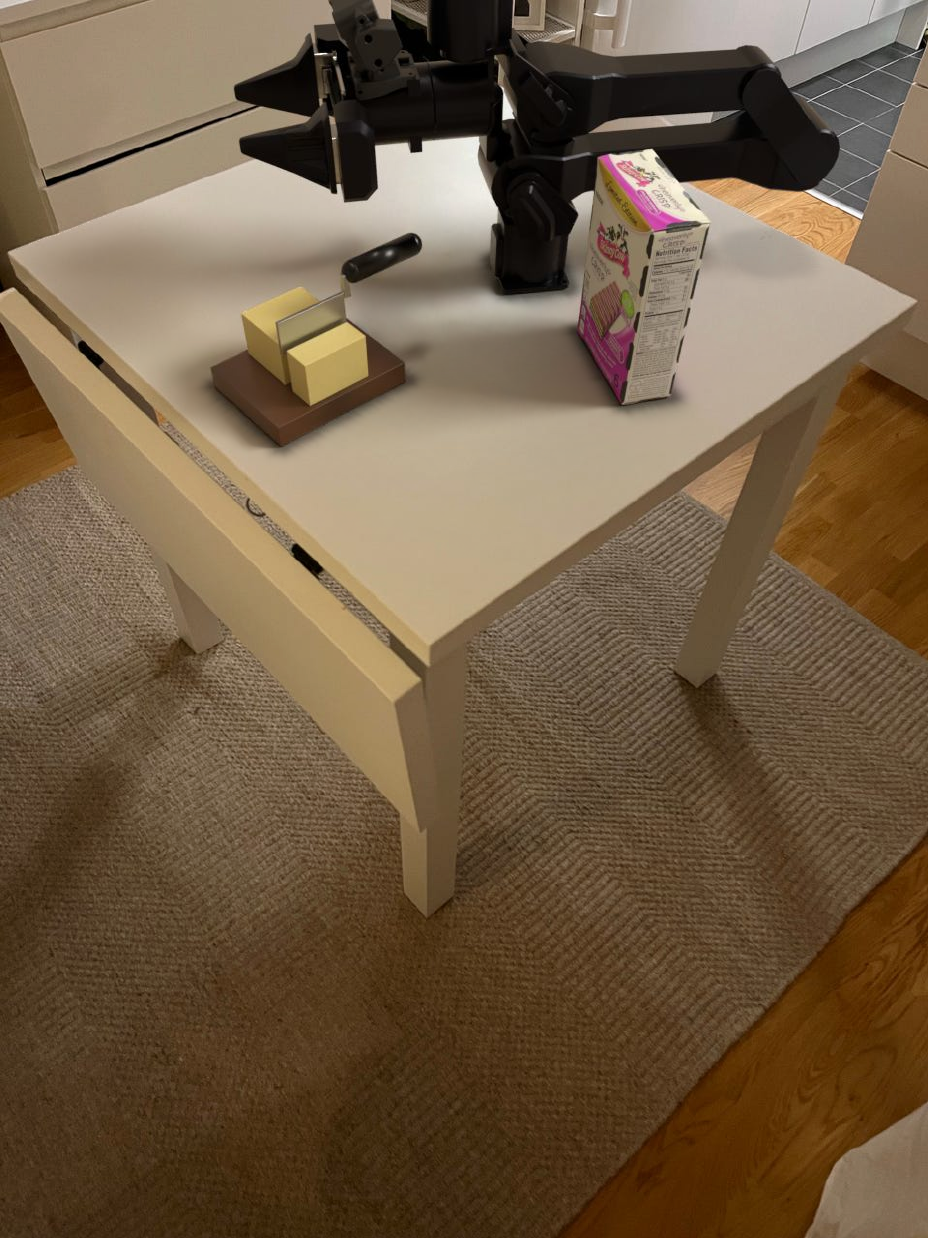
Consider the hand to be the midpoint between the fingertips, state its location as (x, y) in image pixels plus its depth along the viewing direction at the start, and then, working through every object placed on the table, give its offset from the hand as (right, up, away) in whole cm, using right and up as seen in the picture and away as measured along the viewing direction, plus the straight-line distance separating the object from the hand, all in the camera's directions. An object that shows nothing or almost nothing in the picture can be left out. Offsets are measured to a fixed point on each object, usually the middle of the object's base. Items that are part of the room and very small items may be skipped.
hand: (236, 118), depth 77 cm
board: (+5, -20, +6) cm, 21 cm away
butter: (+5, -19, +4) cm, 20 cm away
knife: (+9, -15, +2) cm, 18 cm away
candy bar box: (+32, -18, +8) cm, 38 cm away
